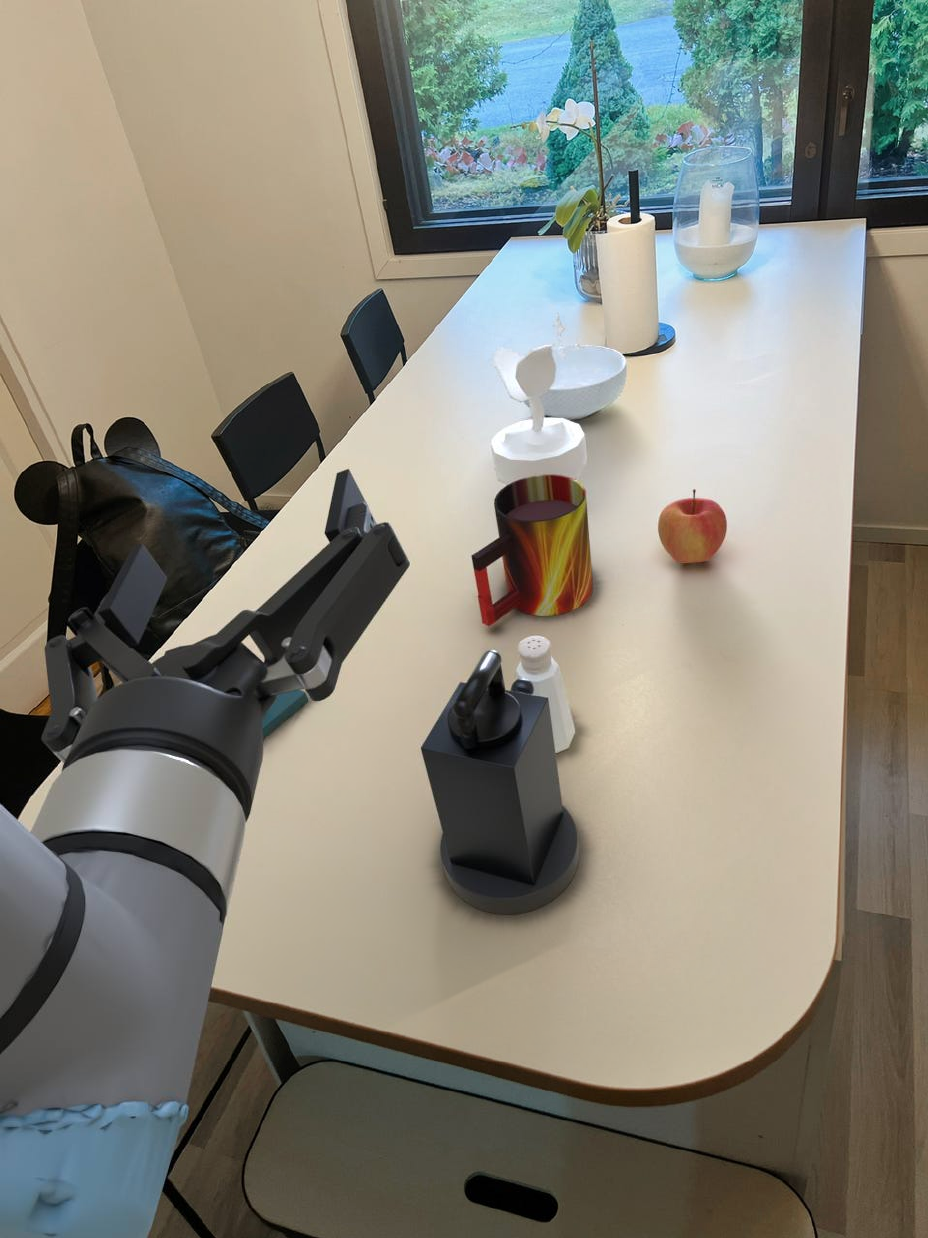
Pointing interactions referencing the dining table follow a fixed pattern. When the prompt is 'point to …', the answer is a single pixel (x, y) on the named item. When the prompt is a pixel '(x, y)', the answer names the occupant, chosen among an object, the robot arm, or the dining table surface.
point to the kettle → (495, 774)
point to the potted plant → (535, 420)
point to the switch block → (282, 710)
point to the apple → (692, 529)
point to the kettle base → (513, 894)
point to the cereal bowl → (584, 381)
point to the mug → (538, 549)
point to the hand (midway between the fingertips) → (248, 527)
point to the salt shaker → (547, 686)
